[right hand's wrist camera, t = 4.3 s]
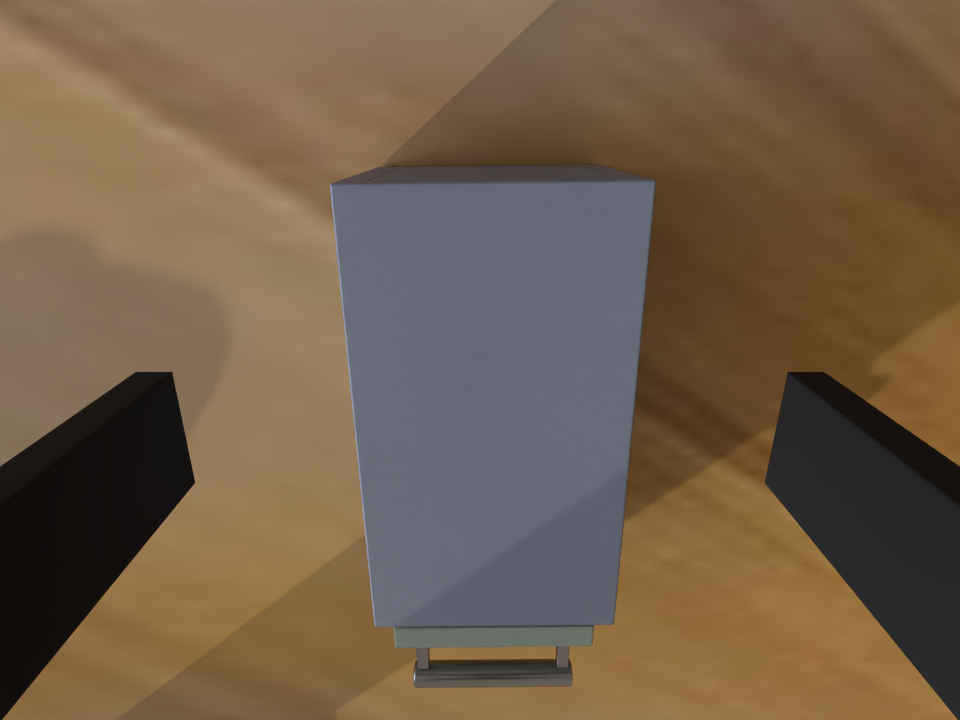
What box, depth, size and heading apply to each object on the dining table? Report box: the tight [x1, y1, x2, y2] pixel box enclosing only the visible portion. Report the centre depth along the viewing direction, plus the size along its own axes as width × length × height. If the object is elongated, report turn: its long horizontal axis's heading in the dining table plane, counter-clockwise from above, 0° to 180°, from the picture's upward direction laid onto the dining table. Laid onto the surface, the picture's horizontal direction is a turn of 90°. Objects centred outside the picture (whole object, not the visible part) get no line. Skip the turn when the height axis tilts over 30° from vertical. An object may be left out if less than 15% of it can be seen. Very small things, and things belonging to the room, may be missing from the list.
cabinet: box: [330, 164, 656, 627], centre depth 26 cm, size 18×10×9 cm, turn 1°
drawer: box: [394, 625, 594, 688], centre depth 28 cm, size 22×9×7 cm, turn 1°
